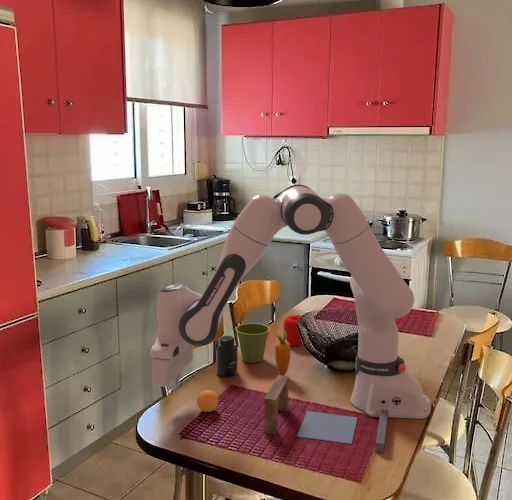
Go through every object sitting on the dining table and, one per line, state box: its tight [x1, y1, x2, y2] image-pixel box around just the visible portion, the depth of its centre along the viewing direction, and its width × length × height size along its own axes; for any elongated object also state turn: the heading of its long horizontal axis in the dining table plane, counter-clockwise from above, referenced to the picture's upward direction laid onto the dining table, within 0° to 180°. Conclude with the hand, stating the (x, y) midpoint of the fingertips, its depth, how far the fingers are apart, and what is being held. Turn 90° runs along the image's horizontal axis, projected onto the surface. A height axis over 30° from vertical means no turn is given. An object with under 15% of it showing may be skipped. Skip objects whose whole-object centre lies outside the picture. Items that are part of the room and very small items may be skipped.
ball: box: [196, 389, 219, 413], centre depth 163 cm, size 6×6×6 cm
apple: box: [282, 314, 303, 347], centre depth 212 cm, size 9×9×11 cm
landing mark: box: [296, 410, 358, 445], centre depth 154 cm, size 14×14×1 cm
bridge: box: [263, 374, 290, 436], centre depth 157 cm, size 3×15×10 cm, turn 164°
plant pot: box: [234, 322, 271, 364], centre depth 198 cm, size 12×12×11 cm
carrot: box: [274, 330, 291, 376], centre depth 184 cm, size 5×5×15 cm
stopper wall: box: [374, 409, 389, 454], centre depth 150 cm, size 2×18×2 cm, turn 164°
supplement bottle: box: [215, 335, 238, 378], centre depth 187 cm, size 7×7×12 cm
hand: (174, 388), depth 164 cm, fingers closed
